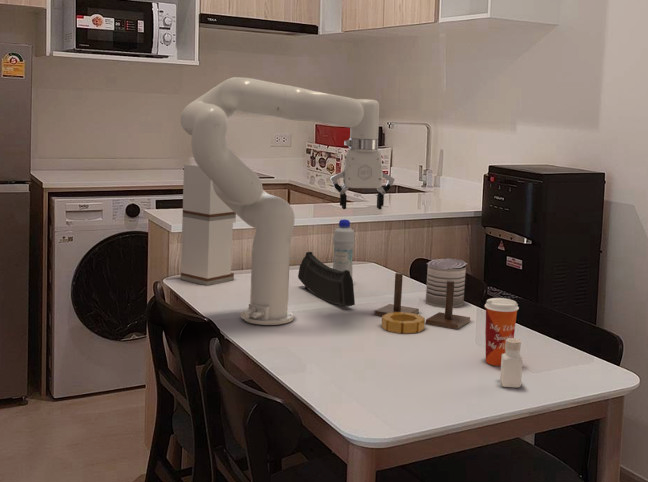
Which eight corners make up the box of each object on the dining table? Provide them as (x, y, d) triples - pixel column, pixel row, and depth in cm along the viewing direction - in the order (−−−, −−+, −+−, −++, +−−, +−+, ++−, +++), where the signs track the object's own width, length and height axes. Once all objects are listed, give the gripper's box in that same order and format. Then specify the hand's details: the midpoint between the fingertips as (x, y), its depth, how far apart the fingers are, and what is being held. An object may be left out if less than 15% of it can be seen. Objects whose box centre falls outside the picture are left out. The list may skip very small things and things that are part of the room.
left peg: (404, 320, 217) (407, 278, 216) (374, 315, 220) (376, 273, 219) (418, 313, 225) (421, 272, 224) (389, 308, 229) (391, 268, 228)
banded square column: (233, 279, 252) (237, 166, 248) (207, 285, 243) (211, 167, 239) (207, 273, 258) (210, 162, 254) (180, 279, 249) (184, 164, 245)
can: (470, 306, 235) (473, 265, 234) (433, 308, 231) (436, 266, 230) (454, 297, 246) (456, 257, 245) (419, 298, 241) (421, 258, 240)
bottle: (327, 283, 253) (330, 219, 251) (336, 279, 260) (339, 217, 258) (347, 286, 251) (350, 221, 250) (355, 282, 258) (359, 219, 256)
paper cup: (487, 368, 181) (491, 306, 180) (476, 357, 189) (480, 297, 187) (520, 367, 184) (524, 305, 182) (508, 356, 191) (512, 297, 190)
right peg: (457, 329, 211) (460, 286, 210) (425, 323, 214) (428, 281, 213) (470, 321, 219) (472, 280, 218) (438, 316, 223) (441, 275, 222)
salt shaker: (518, 381, 174) (521, 338, 173) (521, 388, 170) (524, 343, 169) (499, 381, 173) (502, 337, 173) (501, 387, 169) (504, 342, 169)
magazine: (360, 279, 222) (315, 230, 245) (350, 280, 220) (305, 230, 243) (349, 333, 227) (306, 280, 250) (338, 335, 226) (296, 281, 248)
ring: (413, 335, 203) (413, 325, 203) (375, 328, 207) (376, 318, 207) (429, 326, 213) (430, 316, 212) (393, 319, 217) (394, 310, 216)
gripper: (333, 145, 214) (331, 210, 216) (398, 147, 219) (395, 210, 221) (329, 143, 222) (327, 206, 223) (392, 145, 226) (389, 206, 228)
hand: (361, 208), depth 222 cm, fingers open, 9 cm apart
